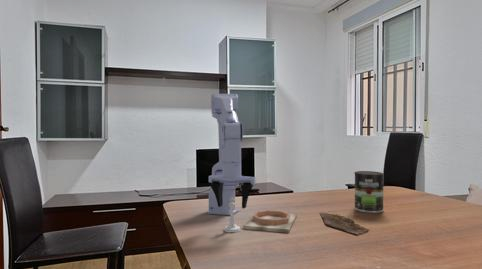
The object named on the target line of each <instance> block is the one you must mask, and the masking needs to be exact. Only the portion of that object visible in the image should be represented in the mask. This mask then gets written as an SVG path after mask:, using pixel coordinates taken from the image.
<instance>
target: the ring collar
mask: <svg viewBox="0 0 482 269" xmlns="http://www.w3.org/2000/svg"><path fill="white" fill-rule="evenodd" d="M290 214H291V213H289V212H285V211H283V210H272V209H270V210H269V209H268V210H261V211H259V212H258V211H255V213H254V214H253V215H252V217H253V220H254V221H256V222H258V223H260V224H268V225H279V224H285V223H289V221H290ZM267 215H273V216H282V217H284V218H281V219H262V218H260V216H267Z"/></svg>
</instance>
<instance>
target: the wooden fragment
mask: <svg viewBox="0 0 482 269" xmlns="http://www.w3.org/2000/svg"><path fill="white" fill-rule="evenodd" d="M319 214H320V216H321V218H322V219H323V222H324V223H325V225H327V226H329V227H333V228H335V229H339V230H342V231H345V232H348V233H352V234H355V235H356V236H361V235H365V234H366V233H368V232H369V231H370V229H368V228H366V227H364V226H361V225H360V224H359V223H358V224H357V223H355V220H353V219H352V218H348V217H345V216H344V215H340V214H337V213H335V214H333V213H332V214H331V213H328V212H327V213H326V212H319Z"/></svg>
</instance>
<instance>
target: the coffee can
mask: <svg viewBox="0 0 482 269" xmlns="http://www.w3.org/2000/svg"><path fill="white" fill-rule="evenodd" d="M353 173H354V210H356V211H357V212H361V213H362V212H363V213H368V214H379V213H383V212H384V175H385V174H384V173H383V172H381V171H380V172H379V171H372V170H371V171H368V170H358V171H354V172H353Z"/></svg>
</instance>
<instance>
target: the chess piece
mask: <svg viewBox="0 0 482 269" xmlns="http://www.w3.org/2000/svg"><path fill="white" fill-rule="evenodd" d="M229 201H231V203H229V207H230V211H229V213H231V214H230V215H229V223H228V225H225V227H224V229H223V231H224V232H226V233H230V232H233V233H238V232H240V231H241V227H240V226H239V225H237V224H236V221H235V214H236V213H235V210H234V207H235V208H236V198H235V199H233V197H231V199H229ZM233 201H235V203H233ZM234 213H235V214H234Z"/></svg>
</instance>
